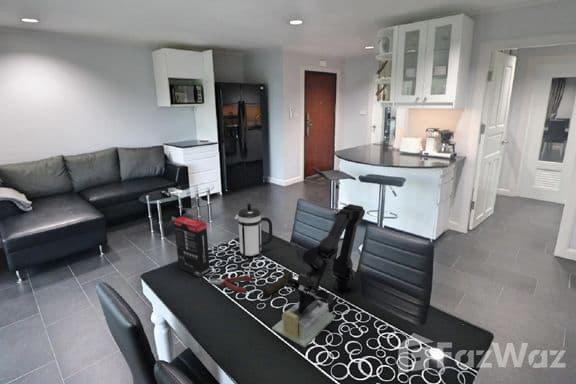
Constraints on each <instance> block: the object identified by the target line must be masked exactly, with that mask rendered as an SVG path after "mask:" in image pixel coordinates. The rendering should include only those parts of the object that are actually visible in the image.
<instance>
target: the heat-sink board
mask: <svg viewBox="0 0 576 384" xmlns="http://www.w3.org/2000/svg"><path fill="white" fill-rule="evenodd" d="M318 302H319V304H318V305H317V306H316V307H315V308H313V309H312V310H311V311H310V312H309V313H308V314H307V315H305V316H304V317H303V318H302V319H301V320H300V321H298V320H299V317H298V316H297V315H295V314H293V312H294V311H295V310H297V309H298V308H299V301H298V302H296V303H295V304H293V306H292V307H290V308H289V309H288V310H285V311H284V312H283V313H282V315H281V320H280V321H278V322H277V323H276V324H275V325H273V326H272V327H271V329H272V330H273V331H274V332H276V333H278V334H280V335H281V336H283V337H285V338H287V339H288V340H289V341H292V342H294V343H295V344H297V345H299V346H301V347H303V348H304V349H305V348H306V347H308V345H310V344H311V342H312V341H313V340H314V339H315V338H317V336H318V335H319V334H320V333H322V331H323V330H325V329H326V328H327V326H328V325H329V324H331V322H332V321H333V320H334V319H335V318H336V314H334V313H331V312H329V311H330V310H329V303H327V302H325V301H321V300H319V299H318Z"/></svg>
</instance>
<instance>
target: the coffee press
mask: <svg viewBox="0 0 576 384" xmlns="http://www.w3.org/2000/svg"><path fill="white" fill-rule="evenodd" d="M261 216H262V211H261V209H260V208H258V206H252V204H251V203H250V202H249V203H247V205H246V206H243V207H241V208H239V210H238V212H237V213H236V215H235V218H234V219H235V220H237V221H238V222H237V223H238V235H239V239H238V240H239V253H240V254H241V255H242V257H241V259H242V260H245V259H246V258H247V256H248V257H252V256H256V255H257V256H258V257H259V258H261V257H263V253H262V252H261V251H262V246H265V245H269V244H270V243H271V242H272V240H273V223H272V220H271V219H270V218H268V217H266V216H264V217H261ZM262 222H267V223H268V239H267V240H265V241H262V226H261V225H262V224H261V223H262ZM260 256H261V257H260ZM244 258H245V259H244Z"/></svg>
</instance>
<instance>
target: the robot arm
mask: <svg viewBox="0 0 576 384" xmlns="http://www.w3.org/2000/svg"><path fill="white" fill-rule="evenodd" d="M365 214H366V210H365V209H364V207H363V206H362V205H357V204H352V203H348V205H344V206H342V208H341V209H339V211H338V214H337V217H336V219H335V220H334V223H333V224H332V225H333V226H331V229H330V231H329V233H328V234H327V235H326V237H324V238H322V239H321V241H320V242H319V244H318V245H316V246H315V247H314V246H312V247H311V249H308V250H306V251H305V252H304V253H303V254H302V261H303V263H305V264H306V265H307V266H308V267H309V268H310V270H309V271H308V270H307V272H305V274H303V273H299V274H298V277H297V279H296V278H293V277H292V278H291V277H290V278H289V279H287V282H286V283H287V286H290V287H291V288H292V289H294V290H297V292H298V294H299V295H298V296H299V301H298V302H299V310H298V311H299V312H302V311H303V310H304V309H306V308H307V307H308V306H309V305H310V304H311V303H313V302H314V301H318V300H319V298H320V299H322V300H323V302H324V303H326V304H328V305H332V304H333V302H334V296H333V295H332V294H330V292H327V291H325V290H323V289H319V288H320V286H321V284H322V283H324V281H325V280H324V276H325V275H326V272H327V269H330V268H332V270H331V271H332V275H333V276H335V277H336V279H335V283H334V285H333V286H334V288H335V289H336V290H337V291H338V293H340V294H344V293H348V292H352V291H354V289H353V288H352V281H354V280H355V278H356V271H355V270H354V269H353V268H354V267H353V265H354V264H353V261H352V258H351V257H352V252H353V248H354V242H355V238H356V233H357V228H358V226H359V224H360V223H362V221H363V219H364V217H365ZM342 235H343V238H342V243H341V247H340V252H339V256H338V250H339V242H340V239H341V237H342ZM332 260H333V264H332V266H331V264H330V261H332Z"/></svg>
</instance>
